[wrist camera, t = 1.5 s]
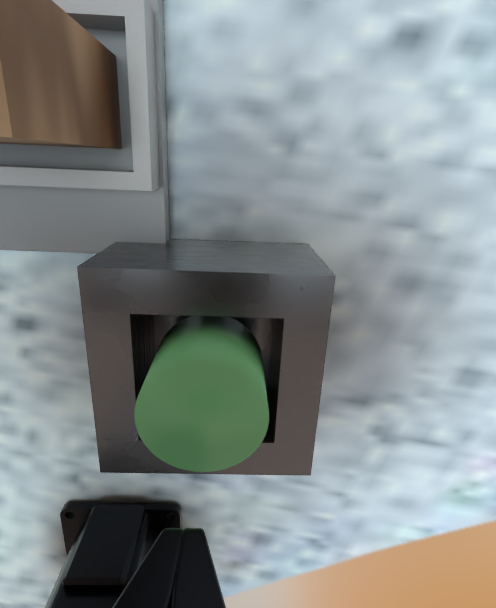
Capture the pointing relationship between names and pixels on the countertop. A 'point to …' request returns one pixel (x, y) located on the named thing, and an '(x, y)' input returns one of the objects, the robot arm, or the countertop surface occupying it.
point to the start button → (204, 396)
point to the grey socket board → (98, 151)
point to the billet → (55, 80)
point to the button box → (207, 302)
